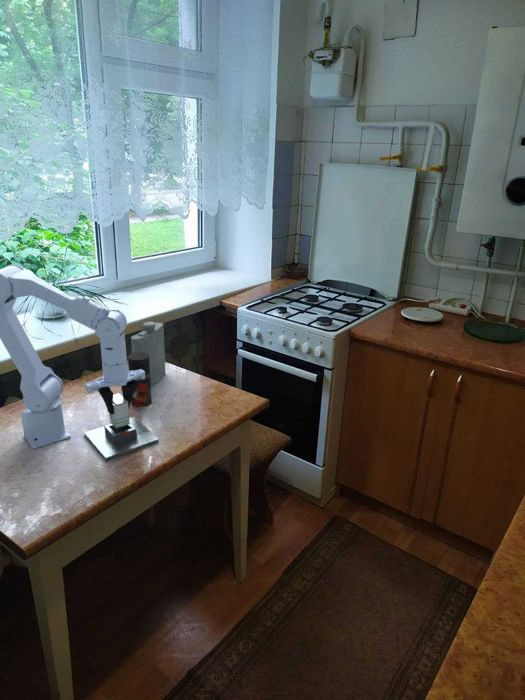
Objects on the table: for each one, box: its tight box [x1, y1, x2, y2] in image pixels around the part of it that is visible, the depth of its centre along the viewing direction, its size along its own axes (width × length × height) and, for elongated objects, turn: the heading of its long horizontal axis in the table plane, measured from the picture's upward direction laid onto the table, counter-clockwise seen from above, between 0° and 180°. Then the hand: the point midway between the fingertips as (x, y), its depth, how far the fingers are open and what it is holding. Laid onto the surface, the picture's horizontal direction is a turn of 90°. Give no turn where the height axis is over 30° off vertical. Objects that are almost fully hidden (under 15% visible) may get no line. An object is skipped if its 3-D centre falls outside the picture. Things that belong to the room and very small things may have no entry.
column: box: [108, 393, 130, 428], centre depth 124 cm, size 4×5×7 cm
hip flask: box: [130, 321, 167, 388], centre depth 155 cm, size 16×4×20 cm, turn 161°
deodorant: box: [127, 352, 153, 409], centre depth 143 cm, size 6×6×15 cm
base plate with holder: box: [83, 416, 160, 462], centre depth 127 cm, size 14×14×4 cm
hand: (118, 410), depth 124 cm, fingers closed on column, 4 cm apart
